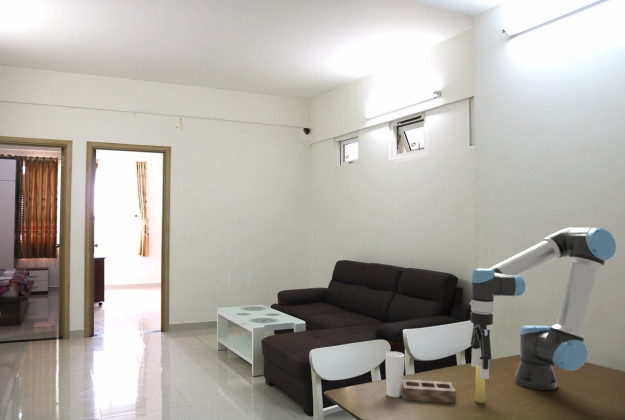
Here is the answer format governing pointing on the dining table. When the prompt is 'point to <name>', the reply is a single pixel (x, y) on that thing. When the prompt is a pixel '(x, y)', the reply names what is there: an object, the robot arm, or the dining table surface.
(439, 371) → the dining table surface
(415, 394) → the hole block
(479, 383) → the peg
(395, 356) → the drinking glass
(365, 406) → the dining table surface
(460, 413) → the dining table surface
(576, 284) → the robot arm
